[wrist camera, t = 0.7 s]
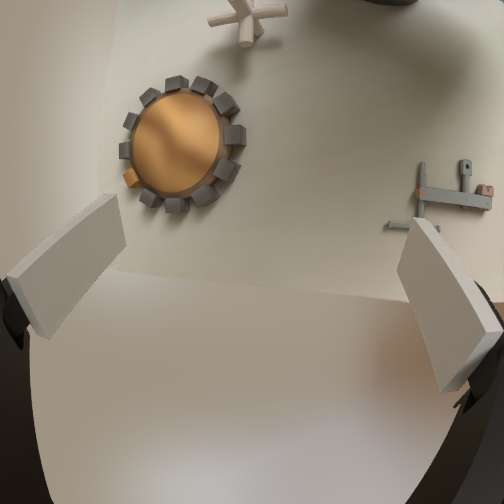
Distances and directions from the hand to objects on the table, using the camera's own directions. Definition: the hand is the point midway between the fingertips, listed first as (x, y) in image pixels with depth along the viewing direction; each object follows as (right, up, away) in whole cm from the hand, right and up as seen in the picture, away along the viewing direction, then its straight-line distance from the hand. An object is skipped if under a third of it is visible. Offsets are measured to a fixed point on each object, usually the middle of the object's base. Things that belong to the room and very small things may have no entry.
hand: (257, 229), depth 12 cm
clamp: (+24, +6, +18) cm, 31 cm away
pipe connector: (+1, +30, +19) cm, 35 cm away
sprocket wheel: (-10, +14, +26) cm, 32 cm away
